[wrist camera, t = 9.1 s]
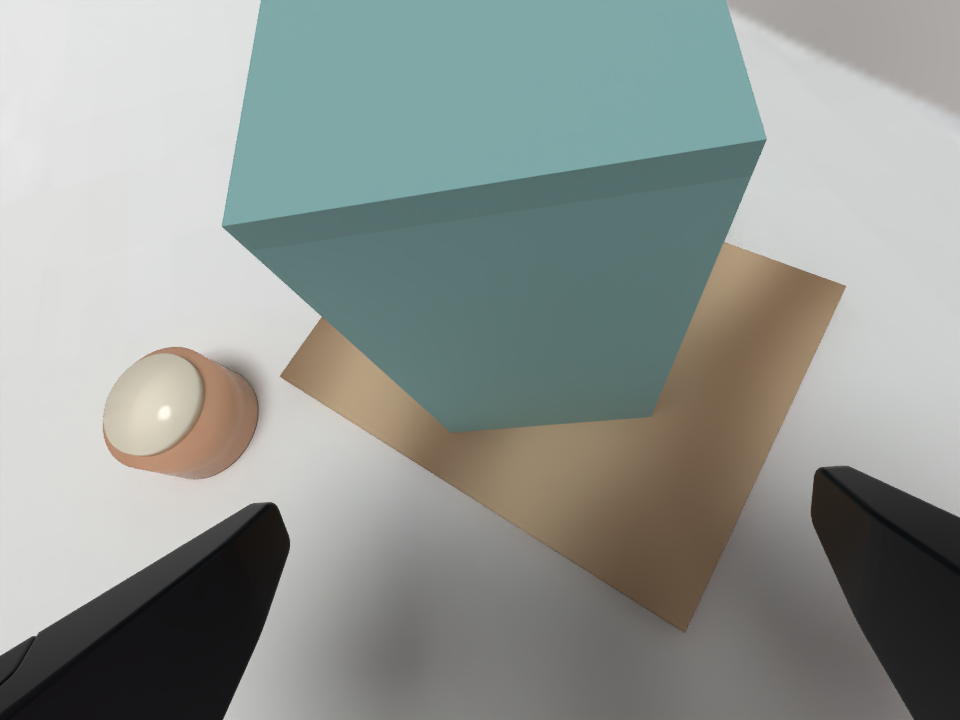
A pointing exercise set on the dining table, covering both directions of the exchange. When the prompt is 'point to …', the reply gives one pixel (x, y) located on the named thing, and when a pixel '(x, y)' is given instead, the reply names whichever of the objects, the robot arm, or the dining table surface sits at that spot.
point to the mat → (622, 437)
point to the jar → (179, 415)
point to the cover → (498, 190)
